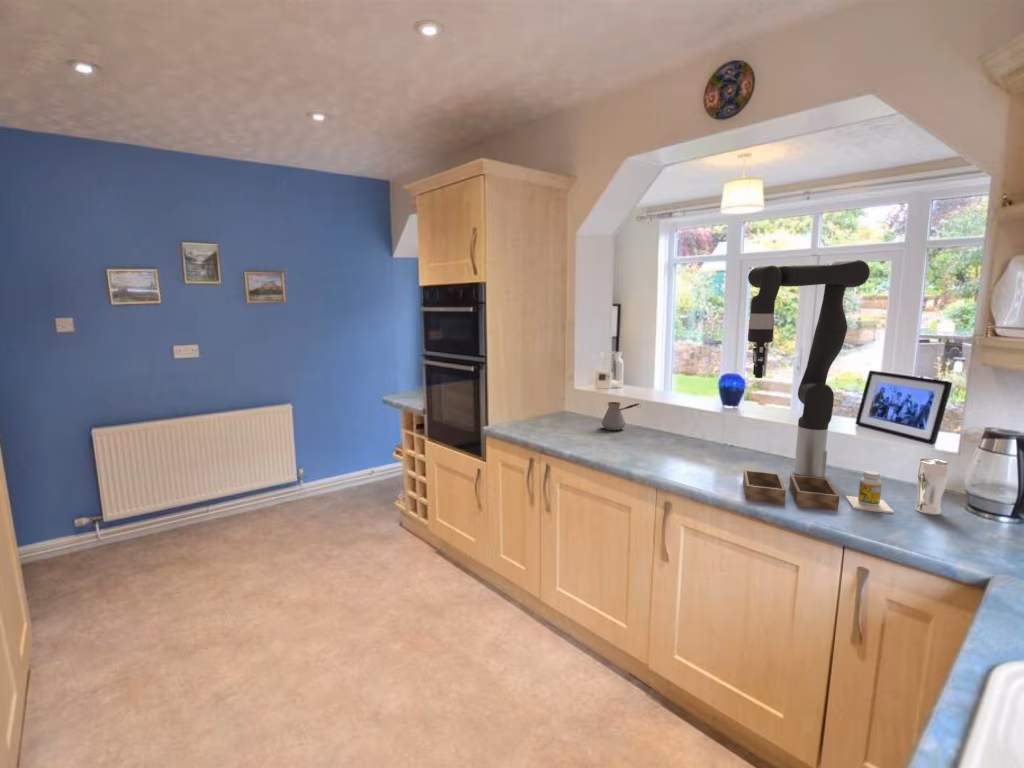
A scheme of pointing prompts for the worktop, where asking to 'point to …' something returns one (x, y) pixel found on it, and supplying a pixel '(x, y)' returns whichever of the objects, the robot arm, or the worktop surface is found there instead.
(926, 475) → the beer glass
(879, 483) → the supplement bottle
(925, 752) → the worktop surface
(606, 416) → the coffee pot
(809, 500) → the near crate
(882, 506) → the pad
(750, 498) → the far crate
